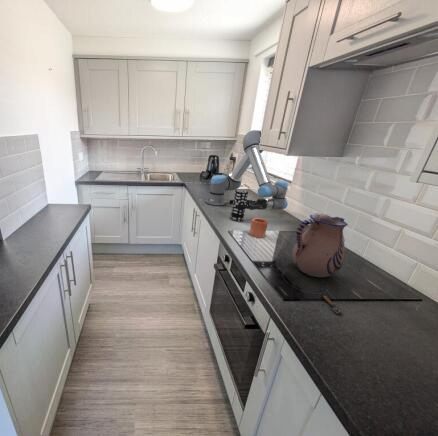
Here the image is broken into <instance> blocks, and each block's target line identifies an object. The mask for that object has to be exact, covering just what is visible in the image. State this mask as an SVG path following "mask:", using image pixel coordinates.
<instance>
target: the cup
mask: <svg viewBox="0 0 438 436" xmlns="http://www.w3.org/2000/svg"><path fill="white" fill-rule="evenodd" d="M268 225H269V221H268V220H266V219H264V218H260V217H253V218H252V219H251V224H250V227H249V235H250V236H252V237H254V238H259V239H260V238H261V239H262V238H265V237H266V234H267V230H268Z"/></svg>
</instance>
